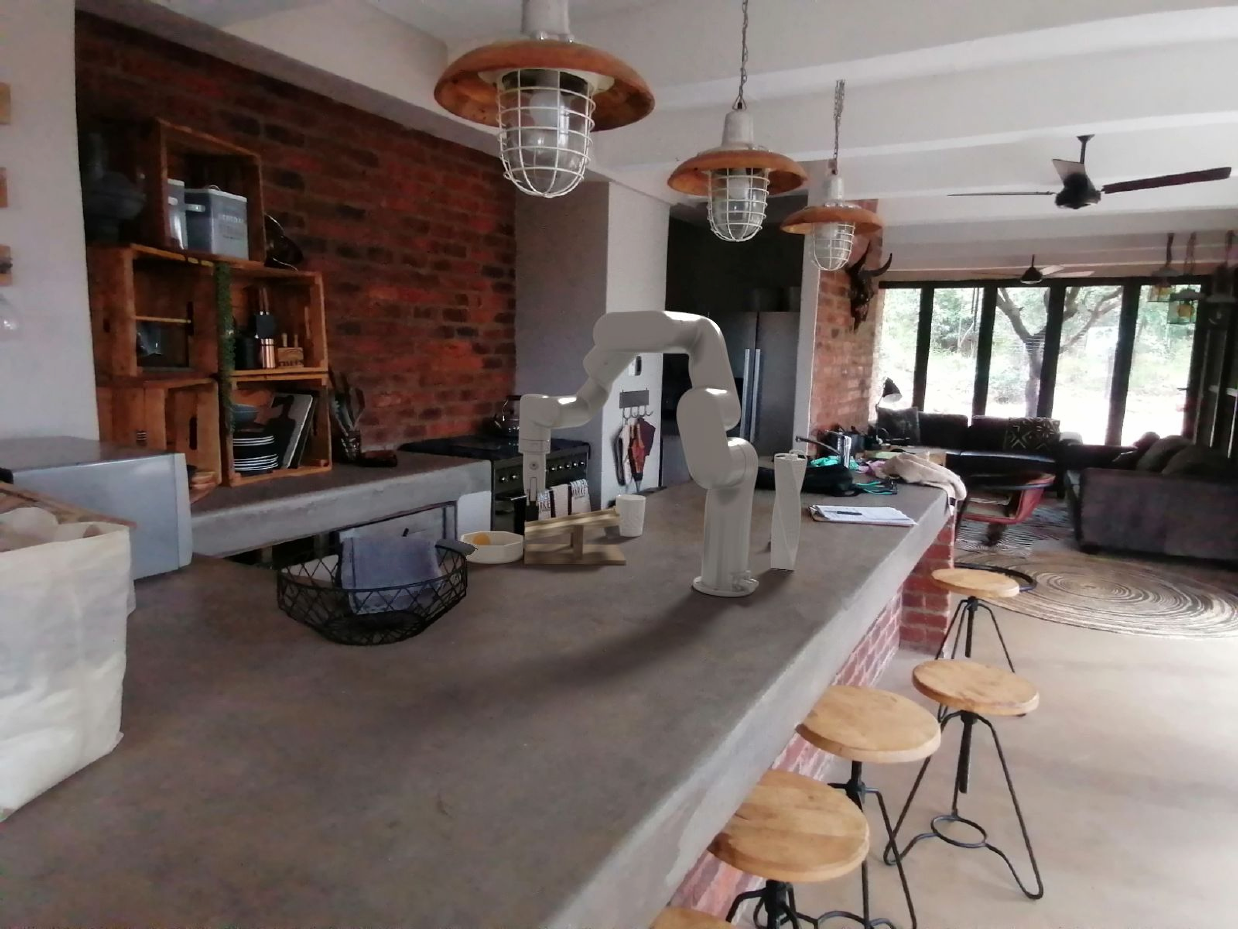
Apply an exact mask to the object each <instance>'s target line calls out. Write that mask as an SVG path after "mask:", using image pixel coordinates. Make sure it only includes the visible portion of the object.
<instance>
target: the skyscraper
mask: <svg viewBox="0 0 1238 929" xmlns="http://www.w3.org/2000/svg"><path fill="white" fill-rule="evenodd" d="M793 452H797V453H801V454H802V455H803V456H804V458H800V457H798V456H799V455H798V454H796V453H793ZM778 456H779V457H778ZM773 459H774V460H773V461H774V462H773V463H774V483H775V496H774V497H775V498H774V502H773V509H772V518H771V528H770V529H771V531H770V537H771V539H770V569H771V568H780V569H790V570H794V571H795V568H794V567H795V563H796V558H797V552H798V547H799V542H800V541H799V540H800V535H801V534H800V533H801V532H800V531H801V522H802V521H801V520H802V508H801V507H802V505H801V490H802V487H803V484H804V483H803V482H804V480H805V474H806V470H807V465H808V464H807V463H808V457H807V455H806V452H805V451H803V450H801V449H797V448H793V449H790V450H789V452H788V453H786V452H785V453H784V452H783V453H782V452H780V453H775V454H774V457H773Z"/></svg>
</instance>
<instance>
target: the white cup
mask: <svg viewBox="0 0 1238 929" xmlns="http://www.w3.org/2000/svg"><path fill="white" fill-rule="evenodd" d="M646 498H647V497H646V496H645V495H644V496H643V495H640V494H630V493H629V494H626V493H625V494H618V495H615V506H616V508H617V510H618V511H619V513H620V519H621V525H619V529H620V536H621V537H626V538H627V537H629V538H630V537H632V538H635V537H641V536H642V535H643V526H644V521H645V520H644V519H645V510H646V509H645V508H646Z"/></svg>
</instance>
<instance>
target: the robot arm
mask: <svg viewBox="0 0 1238 929" xmlns="http://www.w3.org/2000/svg"><path fill="white" fill-rule="evenodd" d="M722 332H723V331H721V329H720V327H719V326H718V325H717V324H716V323H715V322H714V321H713V320H712V319H710V318H708V317H706V316H704V315H699V314H695V313H690V312H688V313H687V312H681V311H669V310H660V309H652V310H637V311H636V310H634V311H632V310H631V311H610V312H607V313H605V314H603V315H601V317H599V318H598V319H597V321H596V323H595V324H594V326H593V330H592V338H593V341H594V344H595V345H594V346H593V348H591V349H590V350H589V352H588V353H587V354H586V355H585V357H584V358H583V360H582V364H583V368H584V370H585V372H586V375H588V378H587V380H586V381H585V382H584V384H583V385H582V386H581V387H580V388H579V389H578V391H577V392H576V393H575V394H572V395H559V396H558V395H555V396H549V395H547V394H540V393H526V394H523V395H521V397H520V400H519V417H518V418H519V425H518V451H517V452H518V453H520V454H522V455H523V456H522V457H523V458H522V459H523V460H522V466H523V467H522V476H523V477H522V481H523V490H524V491H523V493H524V494H525V496H526V504H525V512H524V513H525V516H524V518H525V520H524V522H525V521H526V522H532V521H538V520H539V518H540V516H539V515H540V504H539V498H540V497H539V495H542V496H545V493H546V473H547V471H546V470H547V468H546V466H547V464H546V463H547V460H546V458H547V457H546V455H547V454H550V453H551V436H552V433H551V430H559V429H567V428H578V427H582V426H584V425H586V424H587V423H589V422H590V421H591V420H592V419H593V418H594V417H595V416H596V415H597V414H598V413H599V412H600V411H601V410H602V409H603V407H604V406H605V405H606V404H607V401H608V400H609V399H610V394H611V392H612V389H613V384H614V383H615V381H616V380H617V379H618V378H619V377H620V376H621V375H622V373H623V372H625V370H626V369H627V368H628V367H629V366H630V365H631V364H632V363H633V361H635V360H636V359H637V357H639V355H640V354H644V353H645V354H650V353H651V354H686V355H688V357H689V359H688V374H689V379H690V382H691V386H692V388H690V389H687V391H686V392H684V393H683V395H681V397H680V399H679V401H678V403H677V407H676V422H677V426H678V431H679V436H680V440H681V444H682V449H683V453H684V456H685V462H686V466H687V469H688V471H689V474H690V476H691V478H692V479H693V481H694V482H695V483H696V484H697V485H698V486H700V487H701V488H703V489H707V491H706V497H705V505H704V517H703V518H704V521H703V533H702V534H703V536H702V537H703V538H702V552H701V553H702V556H701V571H700V576H697V577H695V578H694V579H693V581H692V586H693V588H694V589H695V590H697V591H699V592H701V593H703V594H708V595H709V596H710V595H711V596H717V597H725V598H726V597H728V598H729V597H730V598H735V597H744V596H748V595H751V594H752V593H753V592H755V590H756V588H758V586H759V584H760V583H759V581H758V580H757V579H753V578H752V570H749V569H748V568H749V565H748V564H749V554H750V553H749V552H750V537H751V536H750V535H751V524H752V523H751V522H752V521H751V520H752V512H753V511H752V510H753V498H754V491H755V486H756V481H757V476H758V473H759V472H758V471H759V457H758V453H757V451H756V449H755V447H754V446H753V444H752V443H750V441H748V440H746V439H744V438H742V437H741V438H740V437H737V436H734V437H733V436H732V437H727V431H729V430H732V429H733V428H735V427H736V426H737V425H738V423H740V420H741V416H742V410H741V409H742V408H741V404H740V399H739V395H738V390H737V387H736V383H735V378H734V375H733V371H732V366H731V363H730V360H729V355H728V349H727V345H726V341H725V337H724V335H723V333H722Z"/></svg>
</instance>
